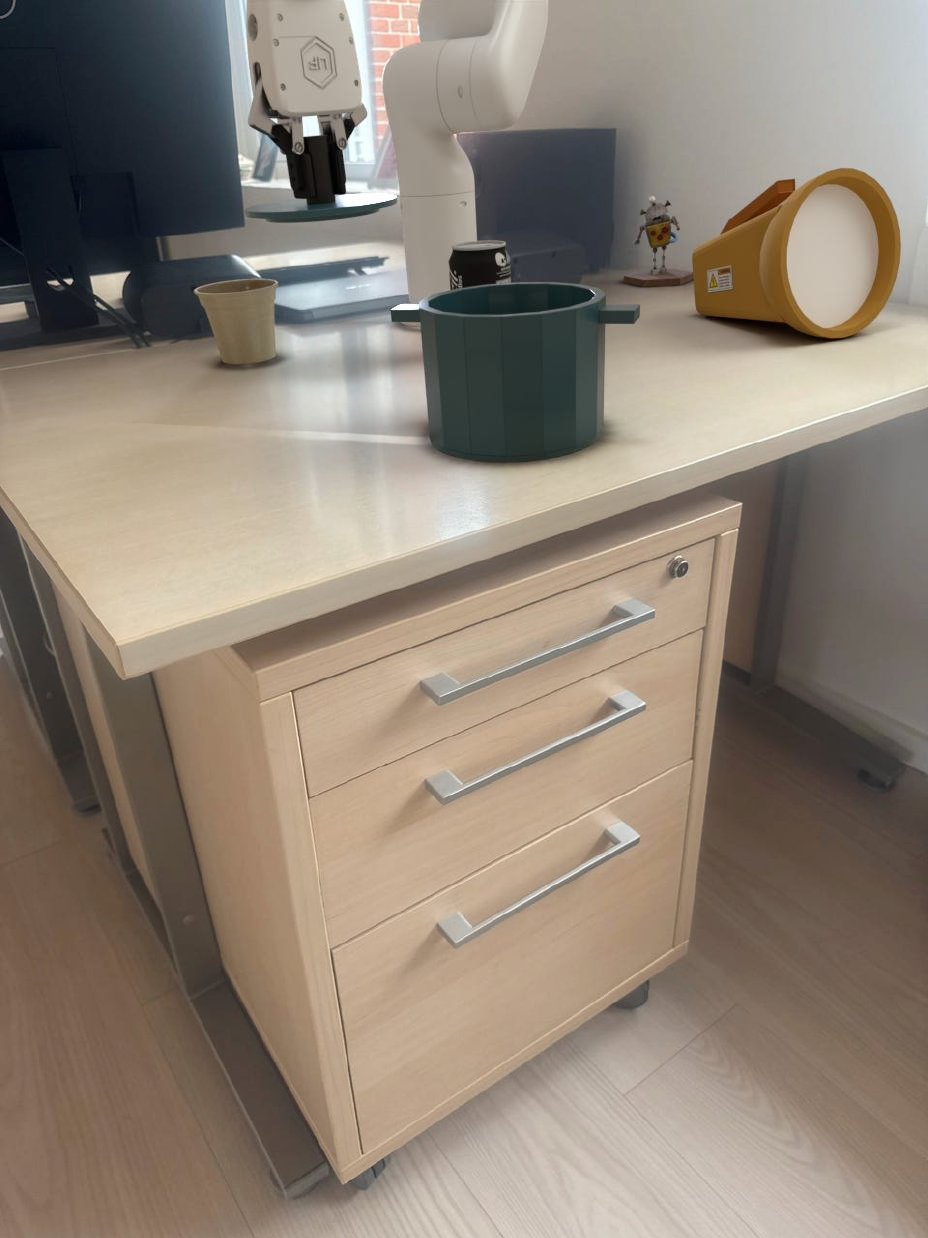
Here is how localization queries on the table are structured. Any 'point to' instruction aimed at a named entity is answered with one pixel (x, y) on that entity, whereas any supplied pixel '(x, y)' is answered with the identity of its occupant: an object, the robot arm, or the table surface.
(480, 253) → the beverage can
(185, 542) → the table surface
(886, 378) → the table surface
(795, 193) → the flared yellow plastic housing
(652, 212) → the robot figurine
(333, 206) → the lid
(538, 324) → the pot
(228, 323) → the flower pot
